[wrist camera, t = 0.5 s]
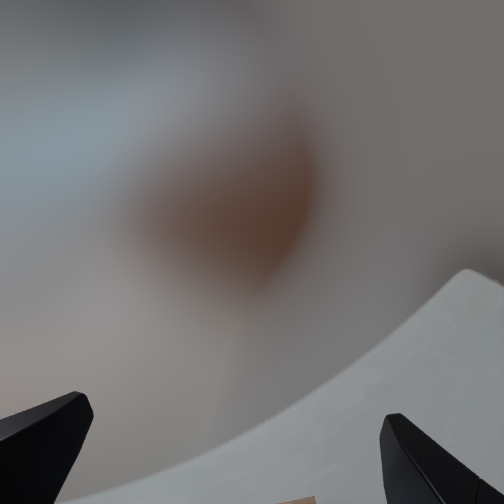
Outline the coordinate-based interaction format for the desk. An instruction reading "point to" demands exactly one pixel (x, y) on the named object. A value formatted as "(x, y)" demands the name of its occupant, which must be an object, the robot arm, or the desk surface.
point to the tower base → (302, 501)
